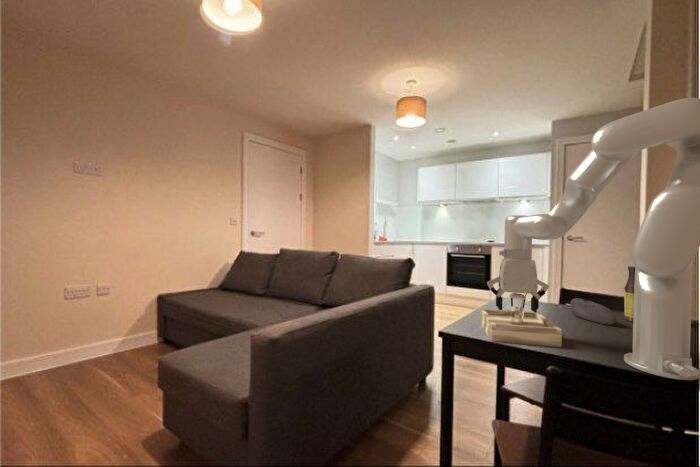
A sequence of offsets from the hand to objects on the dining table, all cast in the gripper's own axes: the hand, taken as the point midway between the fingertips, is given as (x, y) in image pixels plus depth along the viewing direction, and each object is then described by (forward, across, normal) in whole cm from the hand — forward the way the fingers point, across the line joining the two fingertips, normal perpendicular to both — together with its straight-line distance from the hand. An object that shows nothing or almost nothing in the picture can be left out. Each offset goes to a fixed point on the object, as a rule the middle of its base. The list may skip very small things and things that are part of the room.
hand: (516, 310), depth 96 cm
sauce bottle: (+7, +46, +26) cm, 53 cm away
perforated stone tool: (+8, +31, +22) cm, 39 cm away
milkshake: (+4, 0, 0) cm, 4 cm away
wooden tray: (+8, 0, 0) cm, 8 cm away
